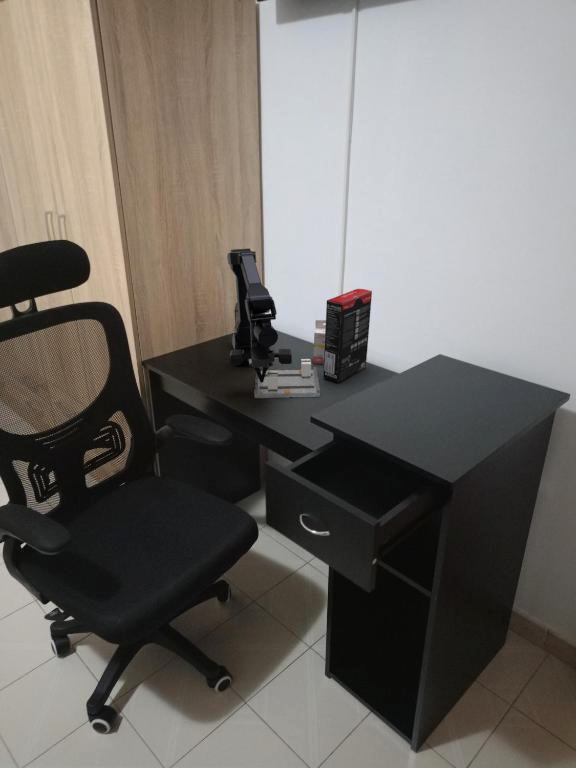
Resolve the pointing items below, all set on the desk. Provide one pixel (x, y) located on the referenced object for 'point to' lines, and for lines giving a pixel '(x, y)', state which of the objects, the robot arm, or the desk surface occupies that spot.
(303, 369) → the fader
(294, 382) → the console
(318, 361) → the ink cartridge box
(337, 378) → the graphics card box
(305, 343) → the desk surface
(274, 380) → the fader
